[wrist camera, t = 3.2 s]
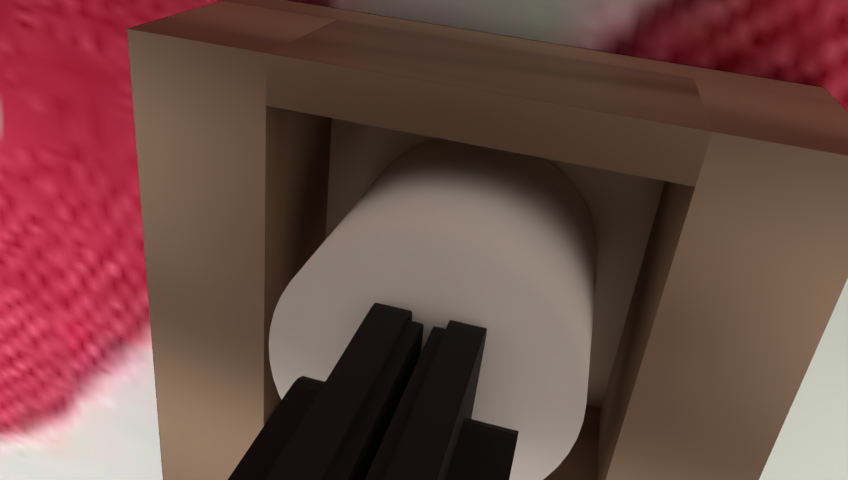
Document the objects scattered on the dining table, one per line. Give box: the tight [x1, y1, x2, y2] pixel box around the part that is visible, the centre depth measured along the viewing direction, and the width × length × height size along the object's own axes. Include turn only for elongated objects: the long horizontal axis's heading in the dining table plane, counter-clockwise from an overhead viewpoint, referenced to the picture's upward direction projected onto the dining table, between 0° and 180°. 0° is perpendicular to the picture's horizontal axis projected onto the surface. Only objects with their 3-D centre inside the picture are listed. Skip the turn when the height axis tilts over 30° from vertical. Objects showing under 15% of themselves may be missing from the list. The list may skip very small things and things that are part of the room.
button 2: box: [269, 138, 598, 480], centre depth 13 cm, size 5×5×4 cm
